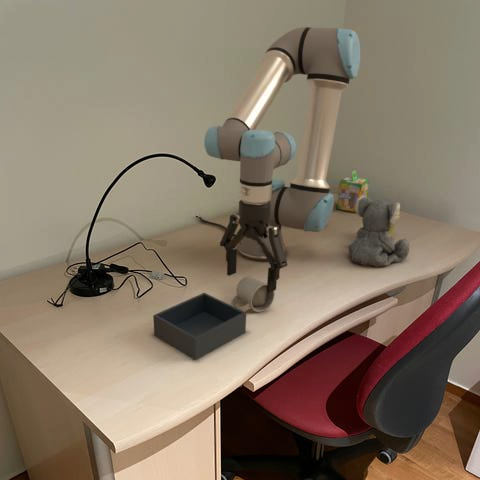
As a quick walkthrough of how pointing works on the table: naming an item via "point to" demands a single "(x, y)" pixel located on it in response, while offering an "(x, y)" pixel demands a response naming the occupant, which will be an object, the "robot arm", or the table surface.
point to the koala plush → (377, 234)
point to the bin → (199, 325)
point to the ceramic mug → (253, 294)
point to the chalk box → (351, 192)
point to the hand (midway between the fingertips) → (250, 282)
